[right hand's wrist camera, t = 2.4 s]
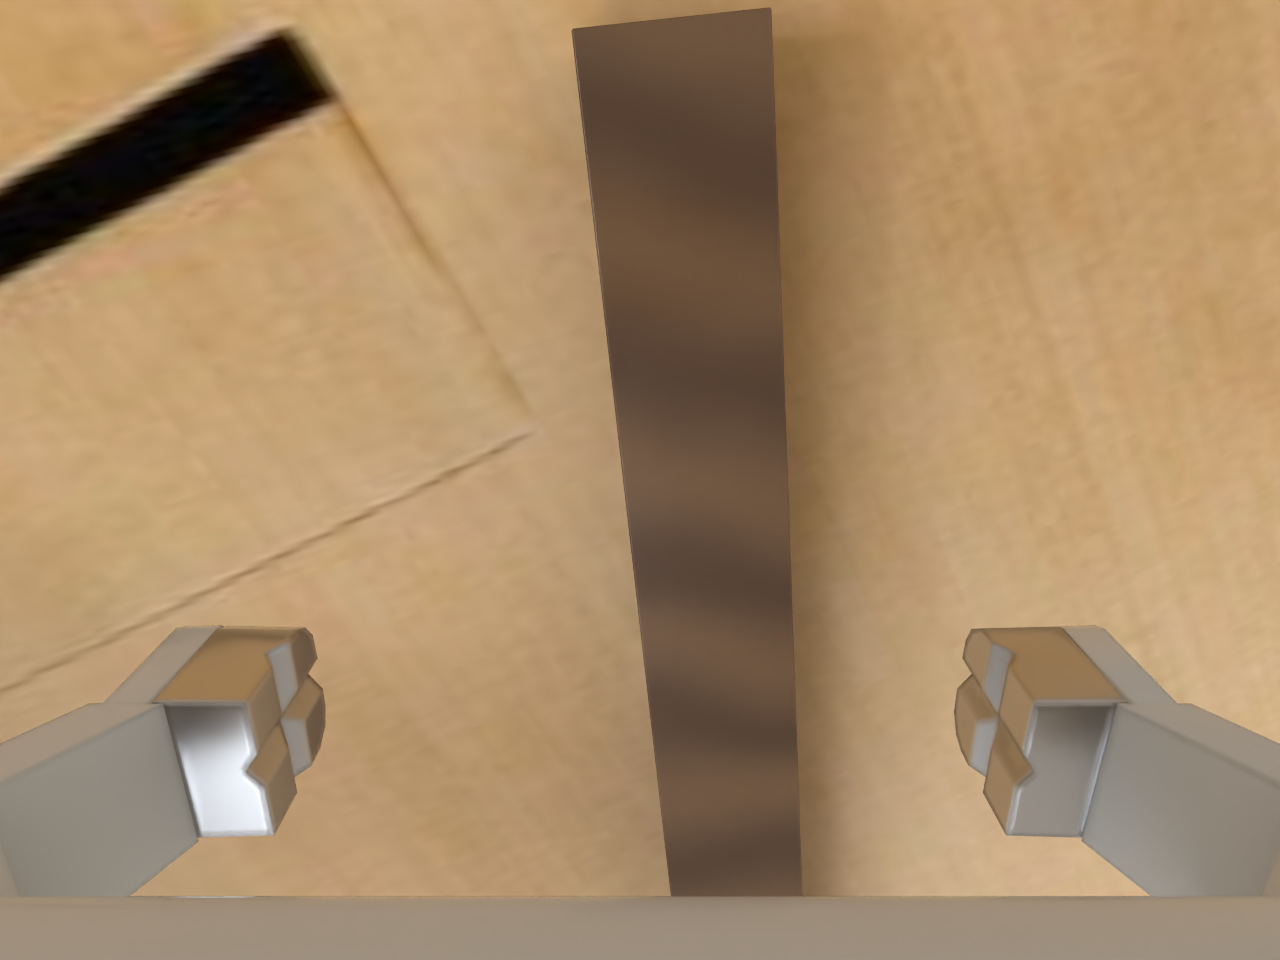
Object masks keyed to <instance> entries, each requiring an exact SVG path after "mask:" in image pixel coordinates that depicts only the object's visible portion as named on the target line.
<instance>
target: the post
mask: <svg viewBox="0 0 1280 960" xmlns="http://www.w3.org/2000/svg"><path fill="white" fill-rule="evenodd" d="M572 38H573V47H574V56H575V65H576V73H577V82H578V91H579V99H580V108H581V117H582V126H583V134H584V143H585V152H586V160H587V169H588V178H589V187H590V195H591V204H592V213H593V221H594V230H595V239H596V247H597V256H598V265H599V274H600V282H601V291H602V300H603V308H604V317H605V326H606V335H607V343H608V352H609V361H610V369H611V378H612V387H613V395H614V404H615V413H616V422H617V430H618V439H619V448H620V456H621V465H622V474H623V483H624V491H625V500H626V509H627V517H628V526H629V535H630V543H631V552H632V561H633V570H634V578H635V587H636V596H637V604H638V613H639V622H640V631H641V639H642V648H643V657H644V665H645V674H646V683H647V691H648V700H649V709H650V718H651V726H652V735H653V744H654V752H655V761H656V770H657V779H658V787H659V796H660V805H661V813H662V822H663V831H664V840H665V848H666V857H667V866H668V874H669V883H670V892H671V896H802V874H801V846H800V817H799V788H798V760H797V731H796V702H795V674H794V645H793V617H792V588H791V559H790V531H789V502H788V473H787V445H786V416H785V388H784V359H783V330H782V302H781V273H780V244H779V216H778V187H777V159H776V130H775V101H774V73H773V44H772V15H771V8H760V9H751V10H742V11H732V12H723V13H714V14H705V15H695V16H686V17H677V18H667V19H658V20H649V21H640V22H630V23H621V24H612V25H602V26H593V27H584V28H575V29H572Z"/></svg>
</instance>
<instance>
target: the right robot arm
mask: <svg viewBox="0 0 1280 960" xmlns="http://www.w3.org/2000/svg"><path fill="white" fill-rule="evenodd" d="M316 660H317V654H316V649H315V644H314V640H313V635H312V634H311V633H310V632H309V631H308V630H307V629H306V628H303V627H252V626H226V627H224V626H221V625H217V626H185V627H180V628H176V629H175V630H174V631H173V632H172V633H171V634H170V635H169V636H168V637H167V638H166V639H165V640H164V641H163V642H162V643H161V644H160V645H159V646H158V647H157V648H156V649H155V650H154V651H153V652H152V653H151V655H150V656H149V657H148V658H147V659H146V660H145V661H144V662H143V663H142V664H141V665H140V666H139V667H138V668H137V669H136V670H135V671H134V672H133V673H132V674H131V675H130V676H129V677H128V678H127V679H126V680H125V681H124V682H123V683H122V684H121V685H120V686H119V687H118V688H117V689H116V690H115V691H114V692H113V693H112V694H111V695H110V696H109V698H108V699H107V700H106V701H105V702H104V703H103V704H87V705H85V706H83V707H81V708H78V709H76V710H74V711H72V712H69V713H67V714H65V715H63V716H61V717H58V718H56V719H54V720H52V721H50V722H47V723H45V724H43V725H41V726H39V727H36V728H34V729H32V730H30V731H28V732H25V733H23V734H21V735H19V736H17V737H14V738H12V739H10V740H8V741H6V742H3V743H1V744H0V960H1280V744H1279V743H1276V742H1274V741H1272V740H1270V739H1268V738H1265V737H1263V736H1261V735H1259V734H1257V733H1254V732H1252V731H1250V730H1248V729H1246V728H1243V727H1241V726H1239V725H1237V724H1235V723H1232V722H1230V721H1228V720H1226V719H1224V718H1221V717H1219V716H1217V715H1215V714H1213V713H1210V712H1208V711H1206V710H1204V709H1202V708H1200V707H1197V706H1195V705H1193V704H1177V703H1176V702H1175V700H1174V699H1173V698H1172V697H1171V696H1170V695H1169V694H1168V693H1167V692H1166V691H1165V690H1164V689H1163V688H1162V687H1161V686H1160V685H1159V684H1158V683H1157V682H1156V681H1155V680H1154V679H1153V678H1152V677H1151V676H1150V675H1149V674H1148V673H1147V672H1146V671H1145V670H1144V669H1143V668H1142V667H1141V666H1140V665H1139V664H1138V663H1137V661H1136V660H1135V659H1134V658H1133V657H1132V656H1131V655H1130V654H1129V653H1128V652H1127V651H1126V650H1125V649H1124V648H1123V647H1122V646H1121V645H1120V644H1119V643H1118V642H1117V641H1116V640H1115V639H1114V638H1113V637H1112V636H1111V635H1110V634H1109V633H1108V632H1107V631H1106V630H1105V629H1103V628H1100V627H1098V626H1095V625H1084V626H1058V627H1025V628H985V629H971V631H970V633H969V635H968V637H967V639H966V643H965V648H964V653H963V660H964V661H965V663H966V665H967V666H968V668H969V669H970V671H971V673H972V674H971V675H970V676H969V677H968V678H967V679H966V680H965V681H964V682H963V683H962V684H961V686H960V687H959V688H958V689H957V695H956V703H955V710H954V714H955V726H956V735H957V739H958V742H959V745H960V749H961V751H962V753H963V755H964V757H965V759H966V761H967V763H968V765H969V766H970V767H972V768H973V769H975V770H976V771H978V772H979V773H981V774H982V775H984V776H985V777H986V779H985V785H984V790H983V793H984V795H985V797H986V799H987V801H988V803H989V805H990V806H991V808H992V810H993V812H994V814H995V816H996V817H997V819H998V821H999V823H1000V825H1001V827H1002V829H1003V830H1004V832H1005V834H1006V835H1011V836H1047V837H1082V842H1084V843H1085V844H1086V845H1087V846H1089V847H1090V848H1091V849H1092V850H1094V851H1095V852H1096V853H1097V854H1099V855H1100V856H1101V857H1102V858H1104V859H1105V860H1106V861H1108V862H1109V863H1110V864H1111V865H1113V866H1114V867H1115V868H1116V869H1118V870H1119V871H1120V872H1121V873H1123V874H1124V875H1125V876H1126V877H1128V878H1129V879H1130V880H1131V881H1133V882H1134V883H1135V884H1136V885H1138V886H1139V887H1140V888H1141V889H1143V890H1144V891H1145V892H1146V893H1148V894H1149V895H1150V896H130V895H131V894H133V893H134V892H135V891H136V890H138V889H139V888H140V887H141V886H143V885H144V884H145V883H146V882H148V881H149V880H150V879H151V878H153V877H154V876H155V875H156V874H158V873H159V872H160V871H161V870H163V869H164V868H165V867H167V866H168V865H169V864H170V863H172V862H173V861H174V860H175V859H177V858H178V857H179V856H180V855H182V854H183V853H184V852H185V851H187V850H188V849H189V848H190V847H192V846H193V845H194V844H196V843H197V842H198V837H232V836H267V835H274V834H275V832H276V831H277V829H278V827H279V825H280V823H281V821H282V819H283V818H284V816H285V814H286V812H287V810H288V808H289V806H290V805H291V803H292V801H293V799H294V797H295V795H296V793H297V790H296V784H295V779H294V777H295V776H296V775H298V774H299V773H301V772H302V771H304V770H305V769H307V768H308V767H310V766H311V765H312V763H313V761H314V759H315V757H316V755H317V753H318V751H319V749H320V746H321V742H322V737H323V733H324V728H325V700H324V694H323V689H322V688H321V687H320V685H319V684H318V683H317V682H316V681H315V680H314V679H313V678H312V677H311V676H310V675H309V674H308V673H309V671H310V669H311V668H312V666H313V665H314V663H315V661H316Z"/></svg>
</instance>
